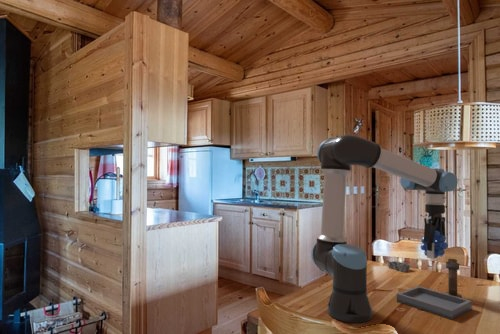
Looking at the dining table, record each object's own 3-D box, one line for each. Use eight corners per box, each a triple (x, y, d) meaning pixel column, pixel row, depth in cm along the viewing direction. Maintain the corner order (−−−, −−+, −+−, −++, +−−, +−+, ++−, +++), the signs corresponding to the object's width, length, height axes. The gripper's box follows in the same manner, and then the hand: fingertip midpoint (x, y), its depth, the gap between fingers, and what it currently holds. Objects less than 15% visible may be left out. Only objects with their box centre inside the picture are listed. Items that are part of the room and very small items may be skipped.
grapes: (453, 260, 139) (453, 231, 139) (444, 262, 135) (444, 232, 136) (426, 254, 149) (426, 227, 149) (417, 255, 145) (417, 228, 146)
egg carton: (385, 267, 177) (385, 260, 177) (395, 266, 181) (395, 258, 181) (402, 272, 168) (402, 264, 168) (412, 271, 171) (412, 263, 171)
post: (457, 302, 128) (457, 262, 128) (441, 297, 133) (441, 259, 133) (464, 299, 131) (464, 260, 132) (448, 294, 136) (448, 257, 137)
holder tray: (451, 319, 112) (451, 310, 112) (396, 301, 128) (396, 293, 128) (471, 309, 121) (471, 300, 121) (418, 293, 138) (418, 286, 138)
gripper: (432, 205, 134) (432, 261, 133) (454, 203, 145) (454, 256, 144) (414, 203, 140) (414, 258, 139) (437, 202, 151) (437, 252, 151)
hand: (434, 257), depth 142 cm, fingers closed on grapes, 7 cm apart
